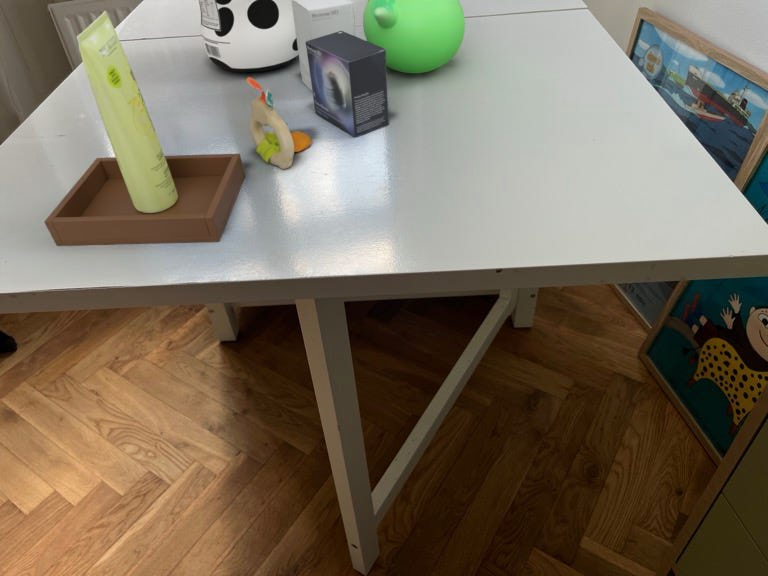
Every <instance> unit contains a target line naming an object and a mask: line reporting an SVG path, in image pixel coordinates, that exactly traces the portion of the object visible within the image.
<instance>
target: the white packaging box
mask: <svg viewBox="0 0 768 576" xmlns="http://www.w3.org/2000/svg"><path fill="white" fill-rule="evenodd" d="M291 1H292V8H293V16H294V23H295V30H296V38H297V45H298V53H299V56H298V60H299V67H300V74H301V81H302V83H303V84H304V85H305V86H306V87H307V88H308V89H309V90H310V91H311V92H312V93H313V91H312V84H311V77H310V70H309V63H308V56H307V48H306V43H305V42H306V41H309V40H312V39H316V38H319V37H322V36H325V35H329V34H332V33H335V32H339V31H344V32H346V33H348V34H351V35H353V36H356V35H357V34H356V21H355V20H356V19H355V5H354V4H355V3H354V2H353V1H352V0H291ZM356 37H357V36H356Z"/></svg>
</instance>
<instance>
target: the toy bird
mask: <svg viewBox="0 0 768 576" xmlns="http://www.w3.org/2000/svg"><path fill="white" fill-rule="evenodd" d="M362 16H363V17H362V20H363V21H362V26H363V33H364V37H365V41H368V42H370V43H373V44H375V45H377V46H380V47H382V48H385V49H386V67H388V68H389V69H390V70H391V69H392V70H394V71H397V72H400V73H405V74H423V73H427V72H432V71H434V70H436V69H439V68H440V67H442V66H444V65H445V64H447V63H448V62H449V61H450V60H452V58H454V56H455V55H456V54H457V53H458V51H459V49H460V48H461V45H462V43H463V41H464V38H465V37H464V36H465V31H466V18H465V13H464V10H463V6H462V4H461V1H460V0H367V1H366V4H365V6H364V11H363V15H362Z"/></svg>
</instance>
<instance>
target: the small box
mask: <svg viewBox="0 0 768 576" xmlns="http://www.w3.org/2000/svg"><path fill="white" fill-rule="evenodd" d="M305 43H306V48H307V56H308V63H309V70H310V77H311V84H312V91H313V92H312V91H311V92H312V98H313V105H314V113H315V114H316V115H318V116H319V117H321V118H322V119H324V120H326V121H327V122H329V123H331V124H332V125H334V126H336V127H337V128H339V129H341V130H342V131H344V132H345V133H347V134H349V135H350V136H352V137H353V138H357V137H359V136H363V135H366V134H367V133H370V132H374V131H376V130H379V129H381V128H384V127H386V126H389V125H390V117H389V116H390V115H389V102H388V99H389V98H388V81H387V80H388V79H387V66H386V49H385V48H382V47H380V46H377V45H375V44H373V43H370V42H368V41H367V40H366V39H363V38H360V37H358V36H353V35H351V34H348V33H346V32H344V31H339V32H335V33H332V34H329V35H325V36H322V37H319V38H316V39H312V40H309V41H306V42H305Z"/></svg>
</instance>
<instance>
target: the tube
mask: <svg viewBox="0 0 768 576" xmlns="http://www.w3.org/2000/svg"><path fill="white" fill-rule="evenodd" d="M76 40H77V42H78V49H79V54H80V56H81V59H82V63H83V66H84V69H85V72H86V76H87V79H88V82H89V85H90V88H91V90H92V94H93V96H94V100H95V102H96V106H97V108H98V111H99V115H100V117H101V120H102V123H103V126H104V128H105V129H104V130H105V131H106V134H107V137H108V139H109V143H110V145H111V148H112V151H113V154H114V157H116V159H117V162H118V165H119V167H120V170H121V173H122V176H123V178H124V181H125V184H126V186H127V189H128V192H129V194H130V197H131V199H132V202H133V205H134V207H135V208H136V209H137V210H138V211H140V212H144V213H156V212H161V211H164V210H166V209H168V208H170V207H171V206H173V205H174V204H175V203H176V201H177V199H178V194H177V191H176V188H175V185H174V182H173V179H172V176H171V173H170V170H169V167H168V165H167V162H166V159H165V156H166V155H165V154H164V151H163V148H162V146H161V142H160V140H159V138H158V135H157V132H156V129H155V126H154V124H153V120H152V118H151V116H150V113H149V111H148V108H147V105H146V103H145V99H144V97H143V95H142V92H141V90H140V87H139V85H138V81H137V80H136V77H135V75H134V72H133V70H132V67H131V65H130V62H129V60H128V57H127V56H126V55H127V54H126V53H125V50H124V48H123V46H122V43H121V41H120V38H119V36H118V33H117V31H116V29H115V27H114V25H113V23H112V21H111V19H110V17H109V15H108V13H107V10H103V12H102V14H100V15H99V16H98V17H97V18H96V19H95V20H93V22H92V23H90V24H89V25H88V26H87V27H86V28H85V29H84V30H83V31H82V32H80V33H79V34H78V35H77V36H76Z"/></svg>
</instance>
